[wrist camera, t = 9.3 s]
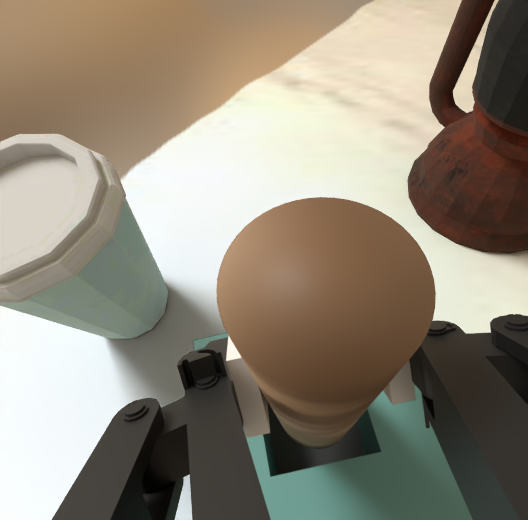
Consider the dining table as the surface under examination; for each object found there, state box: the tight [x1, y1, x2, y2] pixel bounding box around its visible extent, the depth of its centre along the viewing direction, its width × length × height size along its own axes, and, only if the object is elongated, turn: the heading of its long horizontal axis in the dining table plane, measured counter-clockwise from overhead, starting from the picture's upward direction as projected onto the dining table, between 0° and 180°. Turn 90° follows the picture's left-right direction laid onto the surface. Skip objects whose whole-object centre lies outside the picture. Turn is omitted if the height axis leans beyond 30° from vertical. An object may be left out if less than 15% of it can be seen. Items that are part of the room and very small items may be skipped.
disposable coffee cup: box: [0, 134, 168, 339], centre depth 25 cm, size 11×11×15 cm
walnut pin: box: [217, 197, 436, 449], centre depth 13 cm, size 4×4×15 cm
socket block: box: [193, 333, 473, 520], centre depth 19 cm, size 12×20×7 cm, turn 11°
